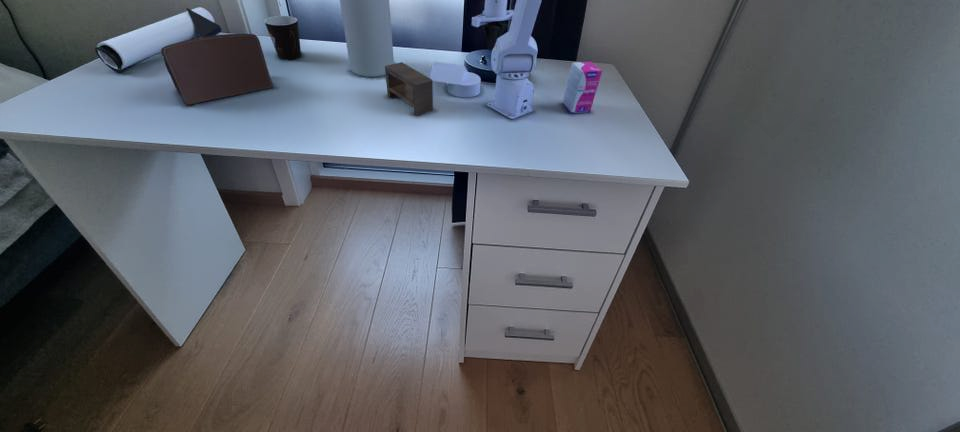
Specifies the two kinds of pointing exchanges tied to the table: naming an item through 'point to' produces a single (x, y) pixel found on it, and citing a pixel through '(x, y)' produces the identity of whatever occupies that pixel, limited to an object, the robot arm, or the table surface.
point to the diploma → (155, 38)
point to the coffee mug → (284, 36)
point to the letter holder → (216, 67)
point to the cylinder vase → (368, 36)
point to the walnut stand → (410, 87)
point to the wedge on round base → (456, 79)
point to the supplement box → (581, 87)
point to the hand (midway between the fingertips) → (491, 49)
